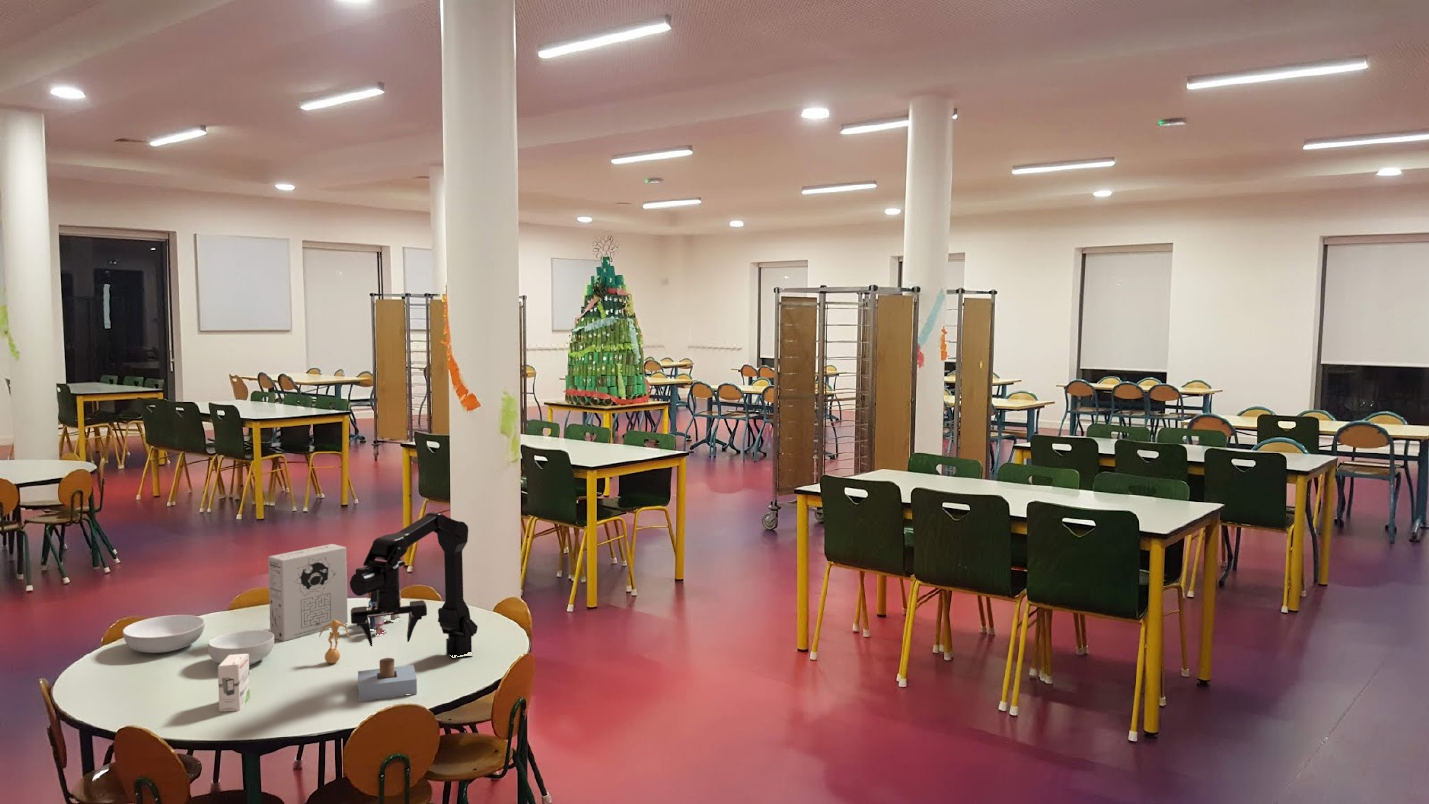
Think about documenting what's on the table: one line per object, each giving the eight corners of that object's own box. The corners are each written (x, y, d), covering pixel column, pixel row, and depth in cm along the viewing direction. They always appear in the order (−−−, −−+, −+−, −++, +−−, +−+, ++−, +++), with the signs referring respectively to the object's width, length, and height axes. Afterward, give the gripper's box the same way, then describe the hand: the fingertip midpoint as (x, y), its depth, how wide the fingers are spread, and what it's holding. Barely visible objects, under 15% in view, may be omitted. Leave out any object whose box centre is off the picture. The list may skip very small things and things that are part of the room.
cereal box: (334, 619, 307) (332, 543, 305) (348, 624, 303) (346, 546, 301) (269, 637, 290) (267, 556, 288) (283, 642, 285) (281, 560, 283)
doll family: (381, 638, 289) (380, 596, 288) (350, 638, 289) (349, 595, 288) (405, 617, 310) (404, 577, 309) (375, 616, 310) (375, 577, 309)
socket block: (413, 679, 256) (413, 664, 256) (416, 694, 246) (416, 679, 246) (358, 686, 251) (357, 671, 251) (359, 701, 241) (358, 686, 241)
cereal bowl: (284, 663, 268) (284, 638, 267) (222, 678, 256) (221, 652, 255) (260, 648, 279) (259, 625, 279) (199, 662, 267) (198, 638, 267)
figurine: (314, 665, 266) (313, 623, 265) (323, 657, 272) (322, 616, 271) (344, 665, 266) (343, 623, 265) (352, 658, 272) (351, 617, 271)
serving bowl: (131, 666, 264) (130, 642, 264) (117, 646, 280) (116, 623, 279) (213, 649, 278) (212, 626, 277) (195, 632, 294) (195, 610, 293)
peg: (394, 686, 251) (393, 657, 250) (395, 691, 248) (394, 661, 247) (379, 688, 250) (379, 658, 249) (380, 693, 246) (379, 663, 246)
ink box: (230, 698, 242) (228, 653, 241) (250, 697, 243) (249, 652, 242) (218, 712, 234) (217, 665, 233) (240, 711, 235) (238, 664, 234)
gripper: (422, 574, 260) (423, 629, 261) (349, 581, 253) (351, 638, 254) (426, 585, 250) (427, 642, 251) (350, 592, 243) (352, 652, 244)
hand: (389, 643), depth 250 cm, fingers open, 9 cm apart
